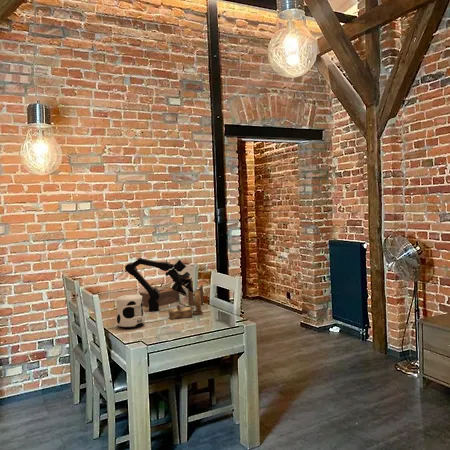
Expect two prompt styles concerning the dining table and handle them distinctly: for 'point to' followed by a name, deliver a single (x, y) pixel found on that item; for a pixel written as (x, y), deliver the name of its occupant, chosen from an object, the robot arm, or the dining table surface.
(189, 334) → the dining table surface
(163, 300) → the tissue box cover
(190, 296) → the wooden block
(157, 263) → the robot arm
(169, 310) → the lid
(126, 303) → the milk container
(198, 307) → the key peg
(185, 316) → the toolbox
